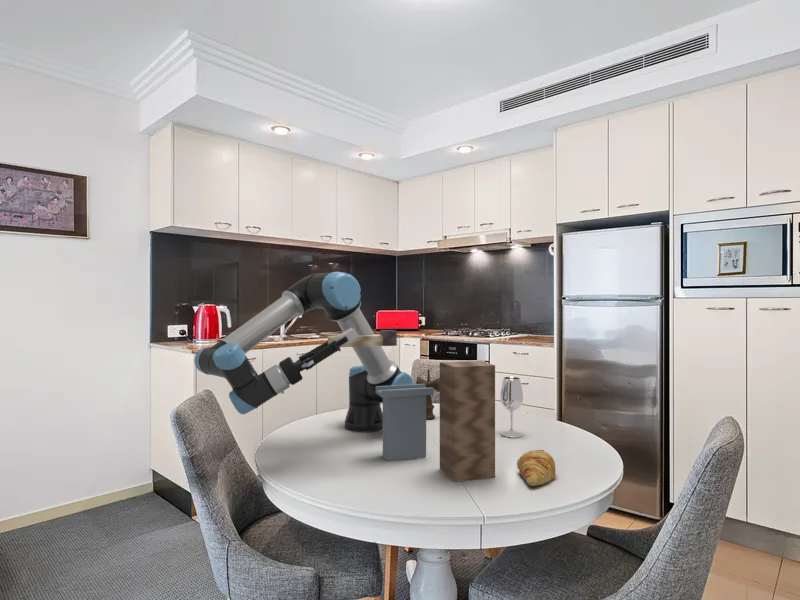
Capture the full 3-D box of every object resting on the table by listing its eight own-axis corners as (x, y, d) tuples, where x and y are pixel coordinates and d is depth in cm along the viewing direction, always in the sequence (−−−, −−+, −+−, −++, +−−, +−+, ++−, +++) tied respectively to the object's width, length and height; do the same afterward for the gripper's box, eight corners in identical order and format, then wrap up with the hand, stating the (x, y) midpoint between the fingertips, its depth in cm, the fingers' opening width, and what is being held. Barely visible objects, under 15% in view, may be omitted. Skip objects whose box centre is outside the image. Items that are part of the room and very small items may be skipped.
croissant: (543, 505, 123) (559, 479, 122) (507, 481, 126) (522, 455, 125) (550, 475, 143) (563, 452, 142) (518, 455, 146) (531, 432, 145)
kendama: (417, 416, 202) (417, 367, 202) (441, 417, 200) (441, 367, 200) (415, 419, 196) (415, 369, 196) (439, 420, 194) (439, 369, 194)
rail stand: (382, 462, 144) (382, 390, 144) (375, 454, 152) (375, 386, 152) (433, 457, 149) (433, 388, 149) (424, 450, 157) (424, 383, 157)
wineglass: (521, 432, 178) (521, 376, 177) (524, 438, 170) (524, 380, 170) (499, 431, 178) (499, 376, 178) (501, 437, 171) (501, 379, 170)
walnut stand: (453, 481, 129) (453, 367, 129) (439, 469, 139) (439, 362, 139) (495, 477, 133) (495, 365, 133) (478, 465, 142) (478, 360, 142)
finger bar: (329, 347, 142) (329, 332, 142) (327, 346, 146) (327, 331, 146) (396, 345, 147) (396, 330, 147) (392, 344, 152) (392, 330, 152)
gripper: (289, 381, 148) (355, 340, 154) (293, 391, 133) (367, 345, 139) (276, 360, 147) (343, 319, 153) (279, 367, 132) (354, 322, 138)
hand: (354, 331), depth 146 cm, fingers closed on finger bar, 3 cm apart
